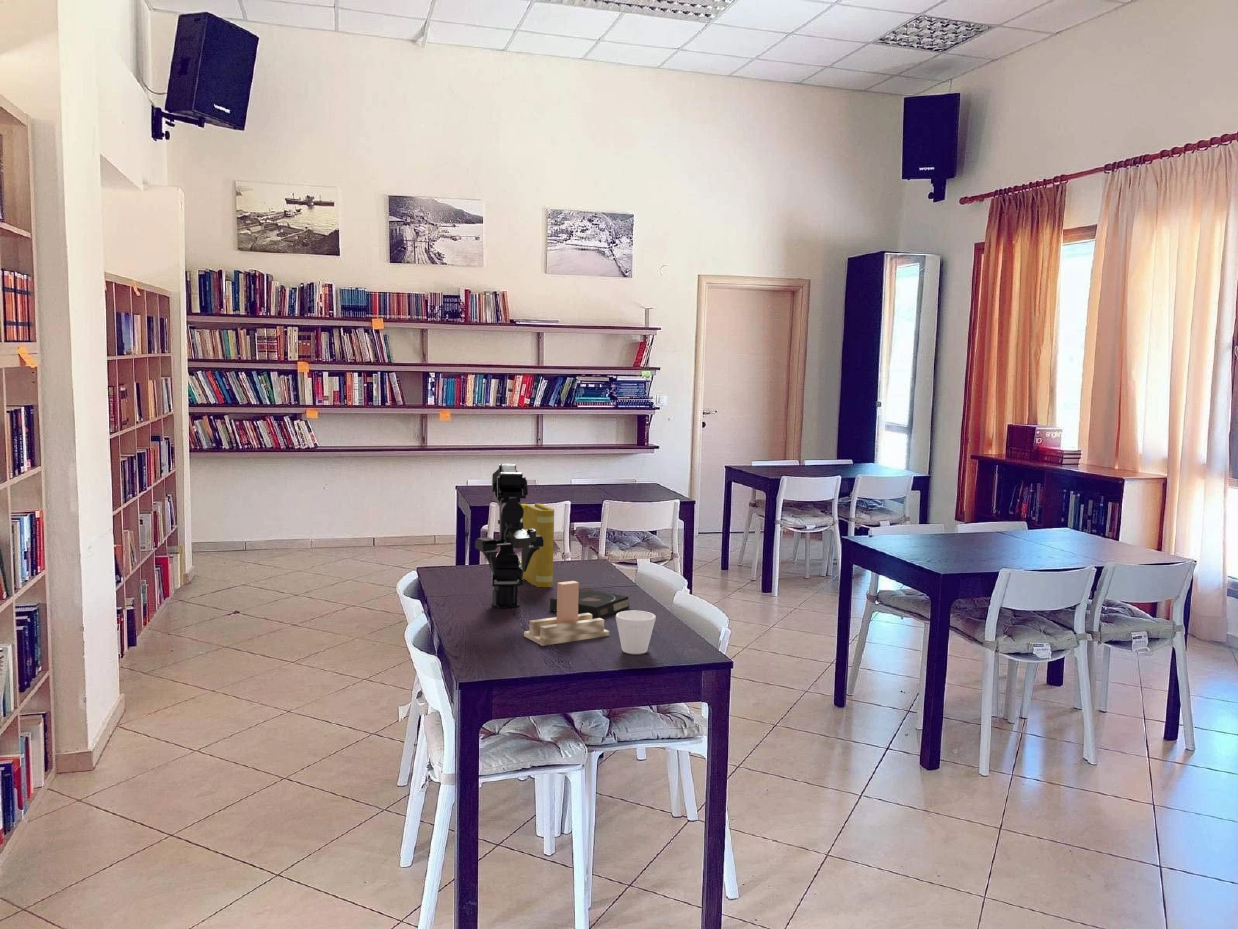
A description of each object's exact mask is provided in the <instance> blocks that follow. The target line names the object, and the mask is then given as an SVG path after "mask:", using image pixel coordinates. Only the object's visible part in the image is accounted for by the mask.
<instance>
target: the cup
mask: <svg viewBox="0 0 1238 929" xmlns="http://www.w3.org/2000/svg"><path fill="white" fill-rule="evenodd" d="M615 614H616V615H615V622H616V628H617V631H618V636H619V641H620V645H621V646H620V647H621V651H622V652H623V653H624V654H626V655H630V656H641V655H645V654H646V653H647V652H648V648H649V646H650V645H649V644H650V641H651V637H652V633H653V629H654V625H655V623H656V620H657V619H656V618H657V617H656V615H655V614H654V613H652V612H648V611H645V610H636V609H635V610H634V609H633V610H623V611H620V612H617V613H615Z"/></svg>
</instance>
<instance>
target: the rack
mask: <svg viewBox="0 0 1238 929" xmlns="http://www.w3.org/2000/svg"><path fill="white" fill-rule="evenodd" d="M528 622H529V625H528V628H529V629H528V630H526V631H523V637H525V638H527V639H529V640H531V641H533V643H534V642H535V643H536V644H538V645H540V646H542V647H543V646H549V645H550V646H551V645H556V644H564V643H570V642H575V641H577V642H578V641H583V640H584V641H585V640H589V639H596V638H603V637H608V636H609V637H610V630H608V629H605V619H603V618H596V619H592V614H590V613H583V614H578V621H574V622H567V623H560V624H556V623H557V616H554V617H547V618H540V619H533V620H532V619H531V620H529V621H528Z"/></svg>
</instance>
